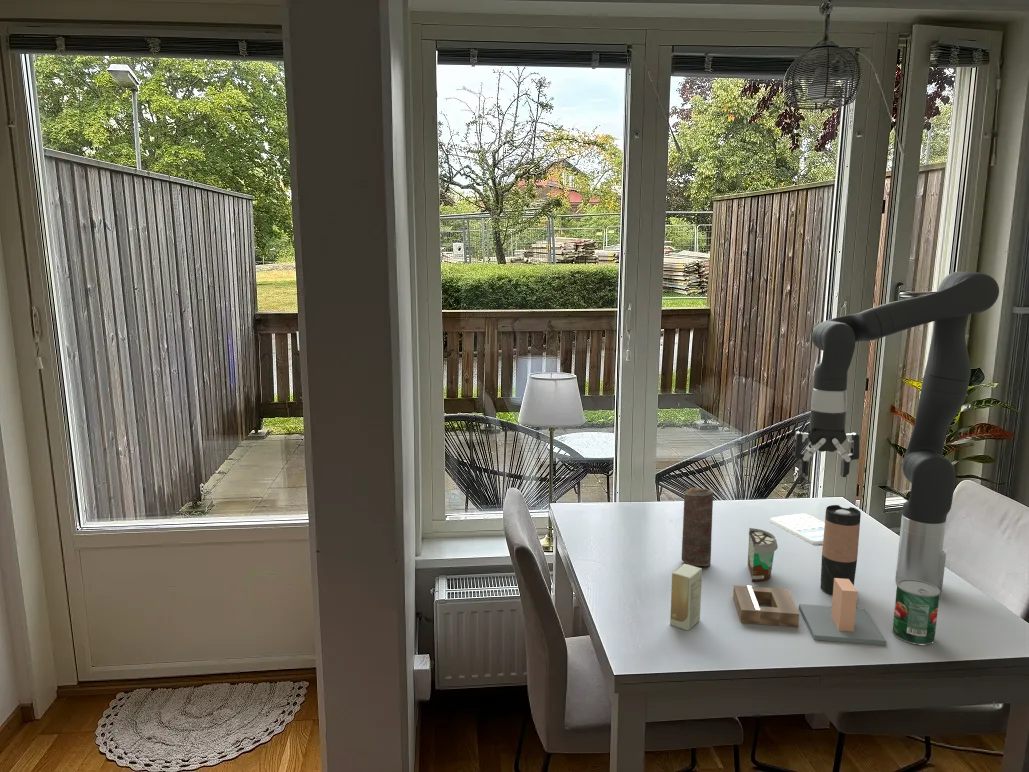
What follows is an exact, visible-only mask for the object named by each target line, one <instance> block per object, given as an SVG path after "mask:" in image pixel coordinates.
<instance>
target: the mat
mask: <svg viewBox="0 0 1029 772" xmlns="http://www.w3.org/2000/svg"><path fill="white" fill-rule="evenodd" d="M831 610H832V605H831V606H830V605H819V604H807V603H806V604H803V603H799V604H798V611H799V612H800V614H801V616H802V618H803V620H804V622H805V624H806V626H807V628H808V631H809V632H810V635H811V637H812V639H813V640H814V641H826V642H827V641H828V642H839V643H853V644H862V645H863V644H864V645H865V644H866V645H876V646H877V645H878V646H886V644H887V640H886V638H885V637H884V635H883V633H881V631H880V629H879V628H878V626H877V624H876V623H875V622H874V621H873V619H872V617H871V616H870V615H869V612H868V611H867V610H866V609H865V608H862V607H861V608H859V607H856V614H855V625H854V632H853V631H839V630H838V628H837V626H836V625H835V623H834V621H833V619H832V618H831Z"/></svg>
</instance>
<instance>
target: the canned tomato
mask: <svg viewBox="0 0 1029 772" xmlns="http://www.w3.org/2000/svg"><path fill="white" fill-rule="evenodd" d="M940 595H941V591H940V590H939V588H937V587H936V586H934V585H933V584H930V583H928V582H924V581H920V580H915V579H903V580H900V581H898V582H897V583H896V591H895V601H894V603H895V604H894V612H893V619H892V620H893V621H892V629H891V633H892V635H893V634H894V635H893V636H896V637H895V638H897V639H898V638H899V639H898V640H900V639H901V640H900V641H902V640H903V641H902V642H904V641H906V642H905V643H907V642H909V643H908V644H910V643H915V644H930V643H932V642H934V643H935V640H936V639H935V637H936V630H937V620H938V613H939V612H938V611H939V603H940ZM932 644H933V643H932ZM930 645H931V644H930Z"/></svg>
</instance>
